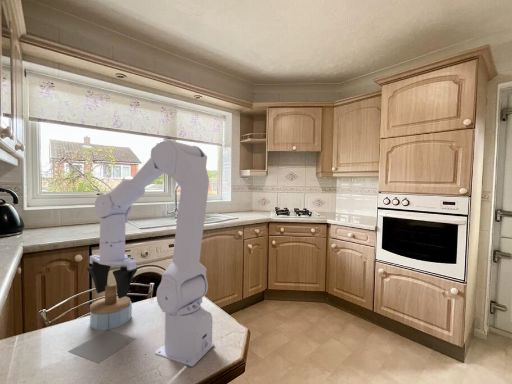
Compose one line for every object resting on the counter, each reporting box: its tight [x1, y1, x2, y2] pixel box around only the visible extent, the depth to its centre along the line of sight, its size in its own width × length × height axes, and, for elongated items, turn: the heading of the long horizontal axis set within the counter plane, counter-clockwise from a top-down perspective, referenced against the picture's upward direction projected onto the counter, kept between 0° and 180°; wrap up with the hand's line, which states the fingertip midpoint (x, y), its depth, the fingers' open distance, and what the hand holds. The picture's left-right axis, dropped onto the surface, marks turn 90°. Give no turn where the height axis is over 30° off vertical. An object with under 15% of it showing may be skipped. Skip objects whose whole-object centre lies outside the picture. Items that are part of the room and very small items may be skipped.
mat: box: [67, 329, 137, 364], centre depth 55 cm, size 9×9×1 cm
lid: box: [89, 283, 131, 314], centre depth 65 cm, size 9×9×5 cm
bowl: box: [89, 300, 133, 331], centre depth 65 cm, size 9×9×4 cm
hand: (111, 294), depth 65 cm, fingers open, 7 cm apart
